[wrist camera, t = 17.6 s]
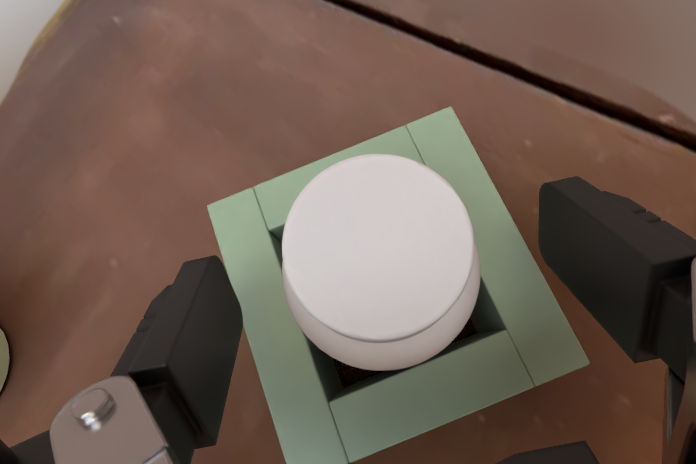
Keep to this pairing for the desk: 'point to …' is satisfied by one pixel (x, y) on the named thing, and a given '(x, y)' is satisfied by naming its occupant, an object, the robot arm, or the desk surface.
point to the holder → (412, 382)
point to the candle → (3, 358)
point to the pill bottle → (380, 262)
